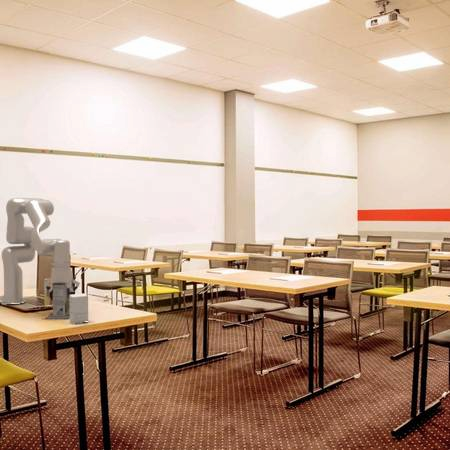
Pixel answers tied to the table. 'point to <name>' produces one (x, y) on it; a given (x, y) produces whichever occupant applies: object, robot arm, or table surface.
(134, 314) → the table surface
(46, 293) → the candy box
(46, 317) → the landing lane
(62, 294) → the coffee box
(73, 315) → the supplement box
